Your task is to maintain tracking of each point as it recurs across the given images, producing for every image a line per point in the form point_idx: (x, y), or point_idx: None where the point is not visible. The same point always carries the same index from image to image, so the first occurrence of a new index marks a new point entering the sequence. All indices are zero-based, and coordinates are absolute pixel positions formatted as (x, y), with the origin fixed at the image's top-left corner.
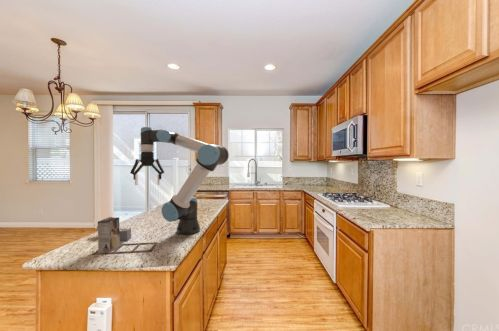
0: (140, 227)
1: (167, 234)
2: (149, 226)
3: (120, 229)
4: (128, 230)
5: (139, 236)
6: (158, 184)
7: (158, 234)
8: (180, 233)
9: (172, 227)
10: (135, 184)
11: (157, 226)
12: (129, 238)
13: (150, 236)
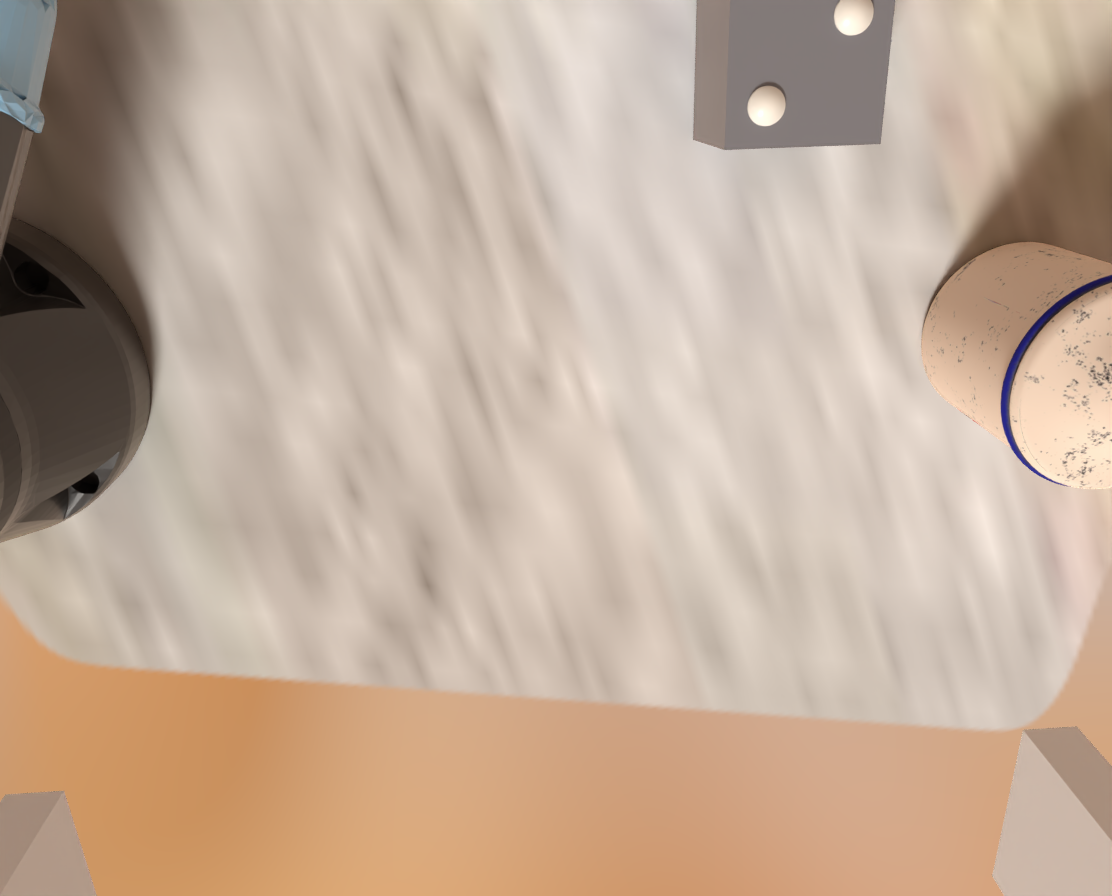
0: (719, 602)
1: (235, 247)
2: (616, 634)
3: (865, 85)
4: (726, 33)
5: (601, 199)
6: (16, 796)
7: (366, 262)
8: (35, 231)
9: (288, 566)
10: (1079, 748)
11: (510, 626)
12: (697, 77)
13: (447, 180)
